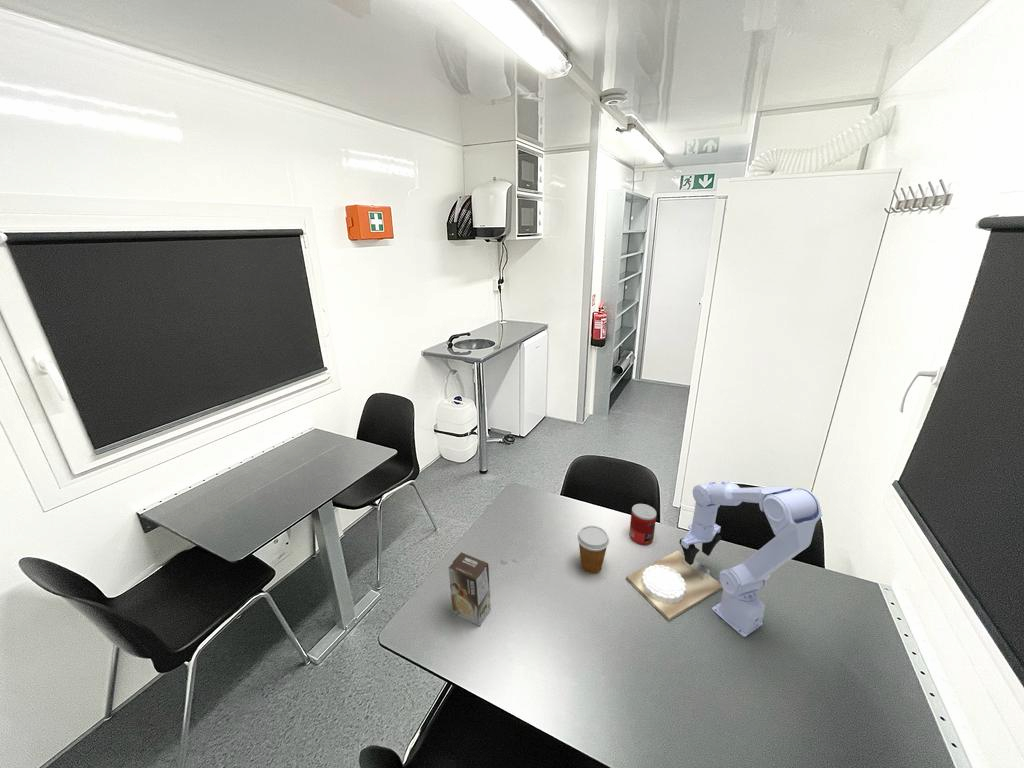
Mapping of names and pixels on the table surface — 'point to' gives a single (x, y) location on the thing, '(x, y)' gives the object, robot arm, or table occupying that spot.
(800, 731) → the table surface
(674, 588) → the mooncake
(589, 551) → the disposable coffee cup
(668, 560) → the wooden cutting board
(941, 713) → the table surface
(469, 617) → the coffee box
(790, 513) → the robot arm
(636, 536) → the canned food
